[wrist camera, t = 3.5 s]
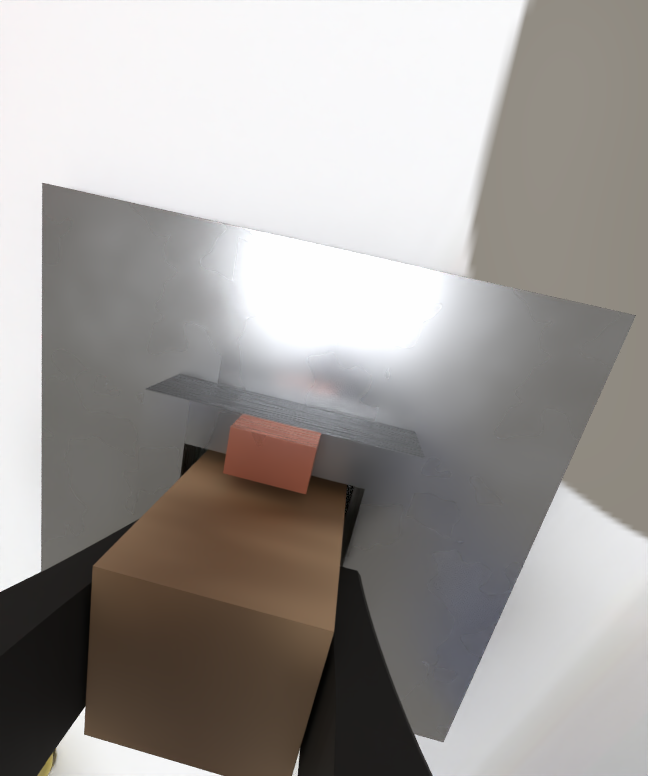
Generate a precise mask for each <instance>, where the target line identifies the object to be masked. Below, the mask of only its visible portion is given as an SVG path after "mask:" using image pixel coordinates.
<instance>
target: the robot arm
mask: <svg viewBox="0 0 648 776" xmlns="http://www.w3.org/2000/svg"><path fill="white" fill-rule="evenodd" d="M138 520H139V519H138ZM138 520H136V521H134V522H132V523H131V524H129V525H127V526H125V527H123V528H122V529H120V530H118V531H116V532H114V533H113V534H111V535H109V536H107V537H105V538H104V539H102V540H100V541H98V542H96V543H94V544H93V545H91V546H89V547H87V548H85V549H84V550H82V551H80V552H78V553H76V554H74V555H72V556H70V557H69V558H67V559H65V560H63V561H61V562H59V563H57V564H55V565H54V566H52V567H50V568H48V569H46V570H44V571H42V572H40V573H38V574H36V575H34V576H32V577H30V578H28V579H26V580H24V581H22V582H20V583H18V584H16V585H14V586H12V587H10V588H7V589H5V590H3V591H1V592H0V776H38V774H39V773H40V771H41V770H42V768H43V767H44V765H45V764H46V762H47V761H48V759H49V758H50V756H51V755H52V753H53V752H54V750H55V748H56V747H57V746H58V744H59V743H60V741H61V740H62V738H63V737H64V736H65V734H66V733H67V731H68V730H69V729H70V727H71V726H72V724H73V723H74V721H75V720H76V719H77V717H78V716H79V714H80V713H81V712H82V710H83V709H84V707H85V706H86V689H87V669H88V649H89V630H90V610H91V590H92V570H93V565H94V564H95V563H96V562H97V561H98V560H99V559H100V558H101V557H102V556H103V555H104V554H105V553H106V552H107V551H108V550H109V549H110V548H111V547H112V546H113V545H114V544H115V543H116V542H117V541H118V540H119V539H120V538H121V537H122V536H123V535H124V534H125V533H126V532H127V531H128V530H129V529H130V528H131V527H132V526H133V525H134V524H135V523H136V522H137V521H138ZM298 776H432V773H431V771H430V769H429V767H428V765H427V763H426V760H425V758H424V756H423V754H422V751H421V749H420V747H419V745H418V742H417V740H416V738H415V735H414V733H413V731H412V728H411V726H410V724H409V721H408V719H407V716H406V714H405V711H404V709H403V706H402V704H401V701H400V699H399V696H398V694H397V691H396V689H395V686H394V683H393V681H392V678H391V675H390V673H389V670H388V667H387V664H386V661H385V658H384V655H383V652H382V650H381V647H380V644H379V641H378V638H377V635H376V632H375V629H374V625H373V622H372V619H371V615H370V612H369V608H368V605H367V601H366V597H365V593H364V589H363V585H362V580H361V576H360V574H359V572H358V571H357V570H353V569H349V568H345V567H342V566H340V571H339V582H338V593H337V604H336V616H335V627H334V634H333V637H332V641H331V644H330V647H329V651H328V654H327V658H326V661H325V664H324V668H323V671H322V675H321V678H320V682H319V685H318V688H317V692H316V695H315V699H314V702H313V705H312V709H311V712H310V716H309V719H308V722H307V726H306V729H305V733H304V736H303V739H302V743H301V746H300V756H299V768H298Z"/></svg>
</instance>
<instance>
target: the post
mask: <svg viewBox="0 0 648 776" xmlns="http://www.w3.org/2000/svg"><path fill="white" fill-rule="evenodd" d="M225 458H226V454H224V453H220V452H217V451H213V450H209V449H208V450H207V451H206V452H205V453H204V454H203V455H202V456H201V457H200V458H199V459H198V460H197V461H196V462H195V463H194V464H193V465H192V466H191V467H190V468H189V469H188V471H187V472H186V473H185V474H184V475H183V476H182V477H181V478H180V479H179V480H178V481H177V482H176V483H175V484H174V485H173V486H172V487H171V488H170V489H169V490H168V491H167V492H166V493H165V494H164V495H163V496H162V497H161V498H160V499H159V500H158V501H157V502H156V503H155V504H154V505H153V506H152V507H151V508H150V509H149V510H148V511H147V512H146V513H145V514H144V515H143V516H142V517H141V518H140V519H139V520H138V521H137V522H136V523H135V524H134V525H133V526H132V527H131V528H130V529H129V530H128V531H127V532H126V533H125V534H124V535H123V536H122V537H121V538H120V539H119V540H118V541H117V542H116V543H115V544H114V545H113V546H112V547H111V548H110V549H109V550H108V551H107V552H106V553H105V554H104V555H103V556H102V557H101V558H100V559H99V560H98V561H97V562H96V563H95V564H94V565H93V570H92V590H91V610H90V630H89V649H88V669H87V689H86V709H85V728H84V735H88V736H91V737H94V738H98V739H101V740H105V741H108V742H111V743H115V744H118V745H122V746H125V747H128V748H132V749H135V750H138V751H142V752H145V753H149V754H152V755H155V756H159V757H162V758H165V759H169V760H172V761H176V762H179V763H182V764H186V765H189V766H192V767H196V768H199V769H203V770H206V771H209V772H213V773H216V774H219V775H223V776H292V774H293V770H294V767H295V763H296V760H297V757H298V753H299V750H300V746H301V743H302V739H303V736H304V733H305V729H306V726H307V722H308V719H309V716H310V712H311V709H312V705H313V702H314V699H315V695H316V692H317V688H318V685H319V682H320V678H321V675H322V671H323V668H324V664H325V661H326V658H327V654H328V651H329V647H330V644H331V641H332V637H333V634H334V627H335V616H336V604H337V593H338V582H339V571H340V559H341V548H342V537H343V525H344V514H345V503H346V492H347V484H343V483H339V482H335V481H331V480H327V479H323V478H319V477H315V476H311V478H310V482H309V485H308V489H307V492H306V494H302V493H298V492H294V491H290V490H287V489H283V488H279V487H275V486H271V485H267V484H263V483H259V482H255V481H251V480H247V479H244V478H240V477H236V476H232V475H228V474H224V473H223V470H224V464H225Z"/></svg>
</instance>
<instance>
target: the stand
mask: <svg viewBox="0 0 648 776" xmlns="http://www.w3.org/2000/svg"><path fill="white" fill-rule="evenodd" d="M635 316H636V315H632V314H628V313H623V312H619V311H614V310H610V309H605V308H601V307H597V306H592V305H588V304H583V303H578V302H574V301H569V300H565V299H560V298H556V297H552V296H547V295H543V294H538V293H533V292H529V291H525V290H520V289H516V288H511V287H506V286H502V285H498V284H493V283H489V282H484V281H480V280H476V279H471V278H467V277H462V276H458V275H453V274H449V273H444V272H440V271H435V270H431V269H426V268H422V267H417V266H413V265H408V264H404V263H399V262H395V261H390V260H386V259H381V258H377V257H372V256H368V255H363V254H359V253H355V252H350V251H346V250H341V249H337V248H332V247H328V246H323V245H319V244H314V243H310V242H305V241H301V240H296V239H292V238H287V237H283V236H278V235H274V234H269V233H265V232H260V231H256V230H251V229H247V228H243V227H238V226H234V225H229V224H225V223H220V222H216V221H211V220H207V219H202V218H198V217H193V216H189V215H184V214H180V213H175V212H171V211H166V210H162V209H157V208H153V207H148V206H144V205H139V204H135V203H130V202H126V201H122V200H117V199H113V198H108V197H104V196H99V195H95V194H90V193H86V192H81V191H77V190H72V189H68V188H63V187H59V186H54V185H50V184H45V183H42V525H41V572H42V571H44V570H46V569H48V568H50V567H52V566H54V565H55V564H57V563H59V562H61V561H63V560H65V559H67V558H69V557H70V556H72V555H74V554H76V553H78V552H80V551H82V550H84V549H85V548H87V547H89V546H91V545H93V544H94V543H96V542H98V541H100V540H102V539H104V538H105V537H107V536H109V535H111V534H113V533H114V532H116V531H118V530H120V529H122V528H123V527H125V526H127V525H129V524H131V523H132V522H134V521H136V520H138V519H140V518H141V517H142V516H143V515H144V514H145V513H146V512H147V511H148V510H149V509H150V508H151V507H152V506H153V505H154V504H155V503H156V502H157V501H158V500H159V499H160V498H161V497H162V496H163V495H164V494H165V493H166V492H167V491H168V490H169V489H170V488H171V487H172V486H173V485H174V484H175V483H176V482H177V481H178V480H179V479H180V478H181V477H182V476H183V475H184V474H185V473H186V472H187V471H188V469H189V468H190V467H191V466H192V465H193V464H194V463H195V462H196V461H197V460H198V459H199V458H200V457H201V456H202V455H203V454H204V453H205V452H206V451H207V450H208V449H209V450H213V451H217V452H220V453H224V454H226V458H225V464H224V470H223V473H224V474H228V475H232V476H236V477H240V478H244V479H247V480H251V481H255V482H259V483H263V484H267V485H271V486H275V487H279V488H283V489H287V490H290V491H294V492H298V493H302V494H306V492H307V489H308V485H309V482H310V478H311V476H315V477H319V478H323V479H327V480H331V481H335V482H339V483H343V484H347V485H351V486H354V488H353V492H352V495H351V499H350V503H349V506H348V510H347V514H346V517H345V521H344V525H343V537H342V548H341V559H340V566H342V567H345V568H349V569H353V570H357V571H358V572H359V574H360V576H361V580H362V585H363V589H364V593H365V597H366V601H367V605H368V608H369V612H370V615H371V619H372V622H373V625H374V629H375V632H376V635H377V638H378V641H379V644H380V647H381V650H382V652H383V655H384V658H385V661H386V664H387V667H388V670H389V673H390V675H391V678H392V681H393V683H394V686H395V689H396V691H397V694H398V696H399V699H400V701H401V704H402V706H403V709H404V711H405V714H406V716H407V719H408V721H409V724H410V726H411V728H412V731H413V733H414V734H416V735H420V736H423V737H427V738H430V739H434V740H437V741H441V742H444V740H445V737H446V735H447V733H448V731H449V728H450V726H451V724H452V722H453V720H454V717H455V715H456V713H457V711H458V709H459V706H460V704H461V702H462V700H463V697H464V695H465V693H466V691H467V689H468V686H469V684H470V682H471V680H472V677H473V675H474V673H475V671H476V669H477V666H478V664H479V662H480V660H481V658H482V655H483V653H484V651H485V649H486V646H487V644H488V642H489V640H490V638H491V635H492V633H493V631H494V629H495V626H496V624H497V622H498V620H499V618H500V615H501V613H502V611H503V609H504V607H505V604H506V602H507V600H508V598H509V595H510V593H511V591H512V589H513V587H514V584H515V582H516V580H517V578H518V575H519V573H520V571H521V569H522V567H523V564H524V562H525V560H526V558H527V556H528V553H529V551H530V549H531V547H532V544H533V542H534V540H535V538H536V536H537V533H538V531H539V529H540V527H541V524H542V522H543V520H544V518H545V516H546V513H547V511H548V509H549V507H550V505H551V502H552V500H553V498H554V496H555V493H556V491H557V489H558V487H559V485H560V482H561V480H562V478H563V476H564V473H565V471H566V469H567V467H568V465H569V462H570V460H571V458H572V456H573V454H574V451H575V449H576V447H577V445H578V442H579V440H580V438H581V436H582V433H583V431H584V429H585V427H586V425H587V422H588V420H589V418H590V416H591V414H592V411H593V409H594V407H595V405H596V402H597V400H598V398H599V396H600V394H601V391H602V389H603V387H604V385H605V383H606V380H607V378H608V376H609V374H610V371H611V369H612V367H613V365H614V363H615V360H616V358H617V356H618V354H619V351H620V349H621V347H622V345H623V343H624V340H625V338H626V336H627V334H628V332H629V329H630V327H631V325H632V323H633V320H634V318H635Z"/></svg>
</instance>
